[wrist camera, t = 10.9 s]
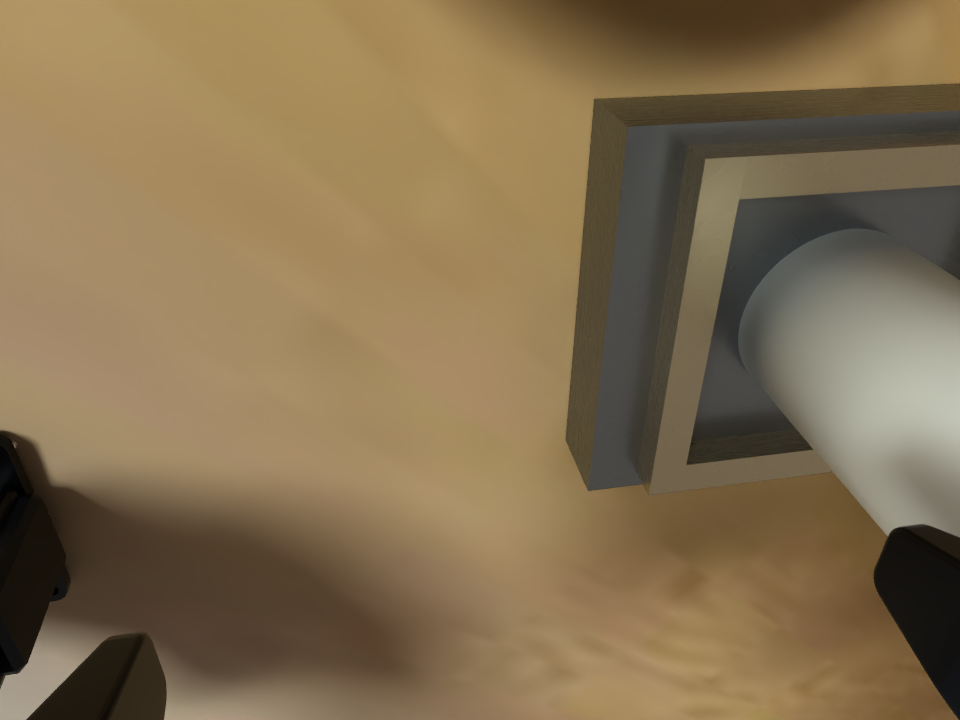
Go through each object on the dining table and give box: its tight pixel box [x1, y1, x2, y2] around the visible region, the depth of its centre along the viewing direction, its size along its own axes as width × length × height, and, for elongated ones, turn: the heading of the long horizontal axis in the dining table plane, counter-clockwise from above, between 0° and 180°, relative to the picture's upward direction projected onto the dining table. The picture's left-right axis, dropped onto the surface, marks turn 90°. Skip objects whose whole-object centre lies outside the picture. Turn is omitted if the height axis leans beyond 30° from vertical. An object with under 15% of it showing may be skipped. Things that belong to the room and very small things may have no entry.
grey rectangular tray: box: [566, 84, 960, 495], centre depth 22 cm, size 13×11×4 cm
